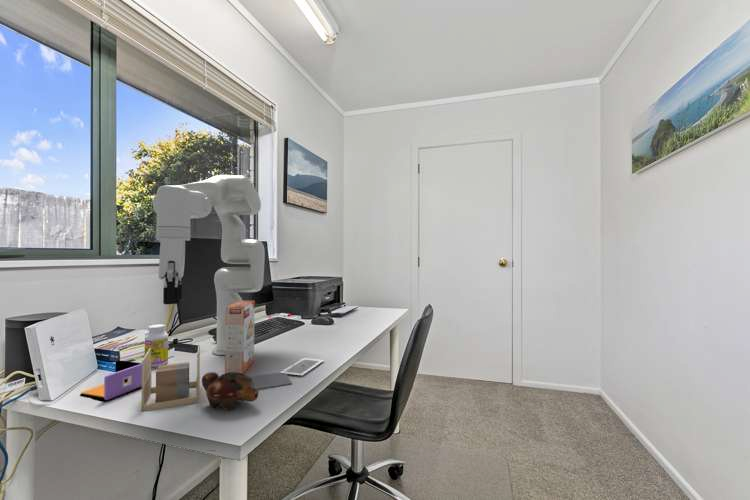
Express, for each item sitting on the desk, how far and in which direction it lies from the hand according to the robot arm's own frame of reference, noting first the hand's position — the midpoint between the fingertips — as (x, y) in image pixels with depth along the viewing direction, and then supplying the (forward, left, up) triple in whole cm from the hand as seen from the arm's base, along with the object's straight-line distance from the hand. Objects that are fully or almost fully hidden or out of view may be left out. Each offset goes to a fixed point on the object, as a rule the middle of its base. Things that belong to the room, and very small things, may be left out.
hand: (173, 301), depth 88 cm
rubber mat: (-1, +25, -25) cm, 35 cm away
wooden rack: (0, 0, -25) cm, 25 cm away
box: (0, 0, -25) cm, 25 cm away
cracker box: (-17, +18, -25) cm, 35 cm away
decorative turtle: (+11, +13, -25) cm, 30 cm away
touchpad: (-8, +36, -26) cm, 45 cm away
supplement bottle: (-32, -7, -25) cm, 41 cm away
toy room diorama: (-12, -15, -25) cm, 32 cm away
